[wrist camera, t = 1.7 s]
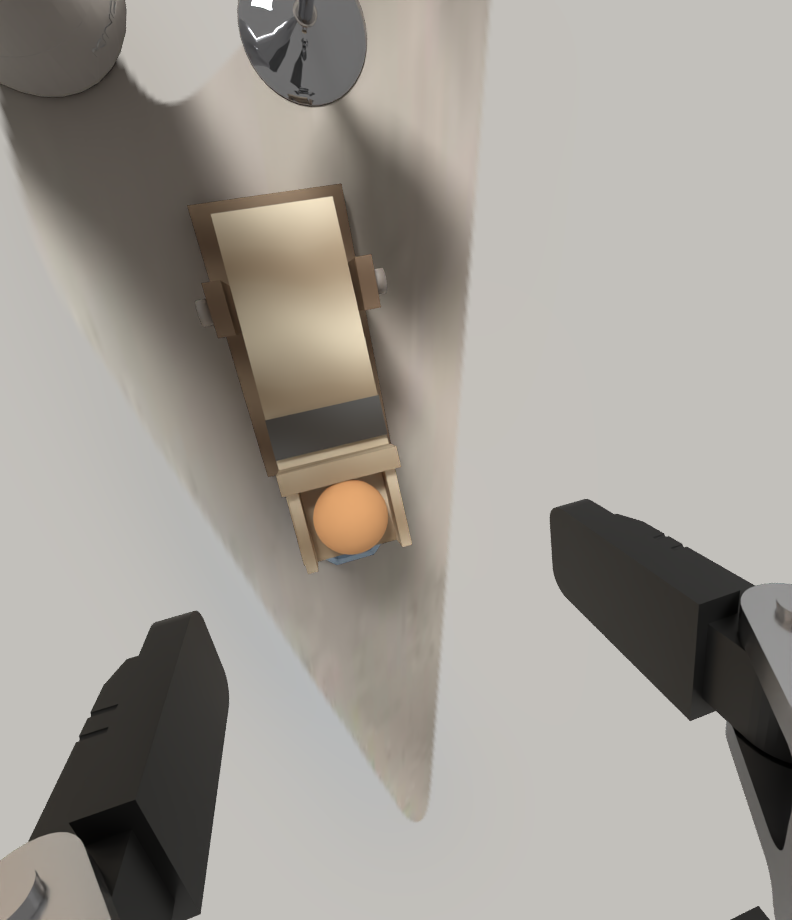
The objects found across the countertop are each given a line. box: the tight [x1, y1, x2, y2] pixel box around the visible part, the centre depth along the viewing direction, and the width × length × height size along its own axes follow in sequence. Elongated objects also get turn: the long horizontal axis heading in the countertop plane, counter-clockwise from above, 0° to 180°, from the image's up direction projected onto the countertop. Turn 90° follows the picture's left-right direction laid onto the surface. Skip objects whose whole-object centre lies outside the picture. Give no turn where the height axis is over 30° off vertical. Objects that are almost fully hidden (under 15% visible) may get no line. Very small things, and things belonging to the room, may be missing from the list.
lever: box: [211, 196, 412, 574], centre depth 21 cm, size 17×6×3 cm, turn 11°
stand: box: [187, 184, 391, 477], centre depth 26 cm, size 17×9×9 cm, turn 10°
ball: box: [313, 479, 388, 555], centre depth 21 cm, size 4×4×4 cm
